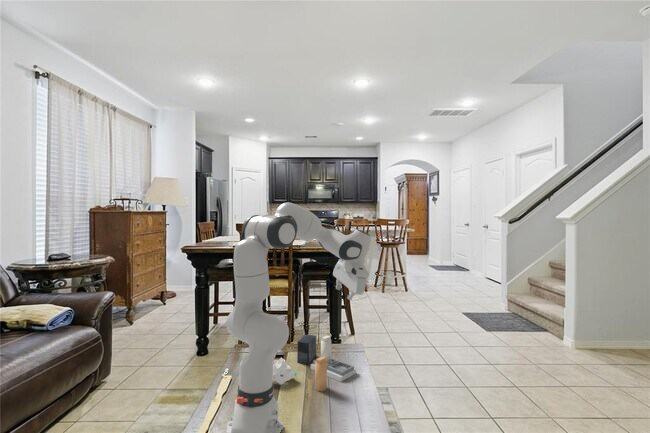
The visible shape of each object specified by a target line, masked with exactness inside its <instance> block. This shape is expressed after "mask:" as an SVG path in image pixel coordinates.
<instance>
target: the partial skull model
mask: <svg viewBox="0 0 650 433" xmlns="http://www.w3.org/2000/svg"><path fill="white" fill-rule="evenodd" d="M275 376H276V377H275ZM296 376H297V373H296V371H294V370H293V369H292V367H291V366H290V365H288V364H287V360H286V359H284V358H282V357H280V358H279V359H278V360H277V361H276V362H275V363H273V382H276V383H278V385H280V386H282V385H284V384H285V382H288V381H290V380H292V379H293V378H295V377H296Z"/></svg>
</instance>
